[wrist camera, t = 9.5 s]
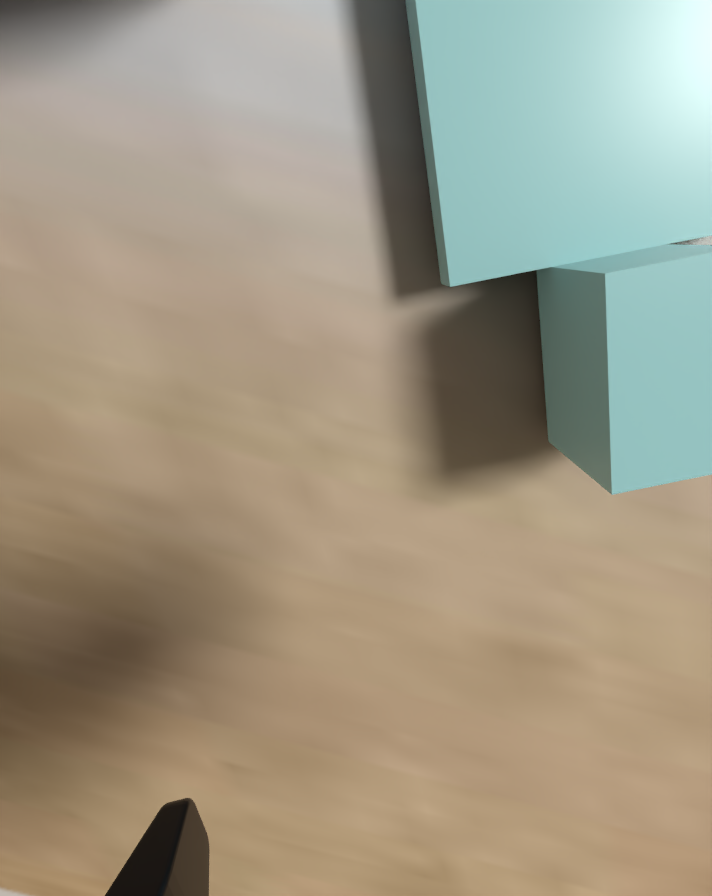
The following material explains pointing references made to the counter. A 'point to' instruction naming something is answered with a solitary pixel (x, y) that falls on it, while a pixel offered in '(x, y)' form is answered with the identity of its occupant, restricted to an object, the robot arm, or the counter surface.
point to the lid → (585, 207)
